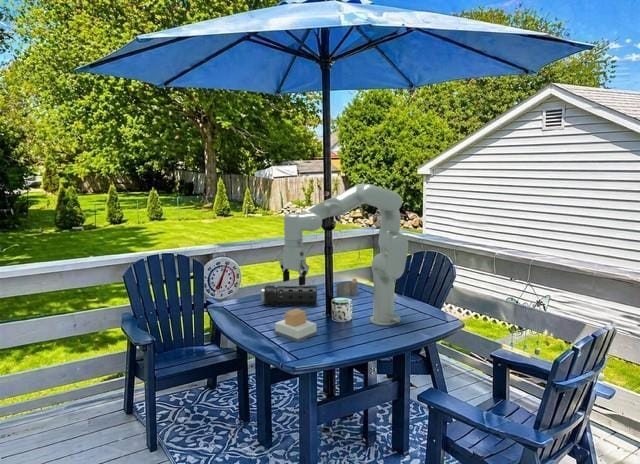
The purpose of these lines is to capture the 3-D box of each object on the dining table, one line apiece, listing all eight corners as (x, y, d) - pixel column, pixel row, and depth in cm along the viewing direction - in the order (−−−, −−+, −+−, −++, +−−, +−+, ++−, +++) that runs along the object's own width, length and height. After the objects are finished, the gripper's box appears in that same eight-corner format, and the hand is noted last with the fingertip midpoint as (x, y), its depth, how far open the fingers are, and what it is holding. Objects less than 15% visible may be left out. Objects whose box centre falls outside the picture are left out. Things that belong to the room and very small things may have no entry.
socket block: (316, 334, 198) (316, 323, 197) (298, 342, 190) (298, 330, 189) (293, 326, 208) (293, 316, 207) (275, 333, 200) (275, 322, 199)
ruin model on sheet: (356, 294, 256) (356, 277, 255) (357, 296, 253) (357, 279, 252) (336, 295, 255) (336, 278, 253) (337, 297, 252) (337, 280, 250)
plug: (306, 329, 199) (305, 311, 198) (294, 334, 194) (294, 315, 193) (297, 326, 203) (296, 308, 202) (285, 331, 198) (284, 312, 197)
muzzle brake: (316, 308, 234) (316, 288, 232) (261, 308, 234) (260, 288, 232) (316, 302, 243) (316, 283, 241) (263, 302, 243) (263, 283, 242)
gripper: (314, 244, 190) (314, 285, 193) (286, 239, 202) (286, 277, 204) (301, 247, 185) (302, 288, 187) (273, 241, 196) (273, 281, 199)
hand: (294, 282), depth 196 cm, fingers open, 9 cm apart
